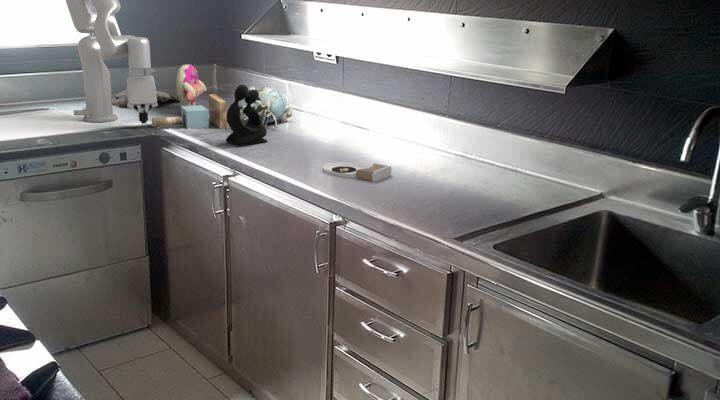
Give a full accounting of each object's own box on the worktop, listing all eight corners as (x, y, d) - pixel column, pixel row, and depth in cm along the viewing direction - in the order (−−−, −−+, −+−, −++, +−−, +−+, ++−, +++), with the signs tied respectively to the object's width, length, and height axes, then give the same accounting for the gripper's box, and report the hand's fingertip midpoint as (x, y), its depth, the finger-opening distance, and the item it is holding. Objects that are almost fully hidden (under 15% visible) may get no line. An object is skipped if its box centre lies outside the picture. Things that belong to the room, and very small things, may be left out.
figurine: (237, 147, 230) (236, 87, 224) (222, 143, 236) (221, 84, 230) (271, 142, 240) (271, 84, 234) (256, 137, 246) (255, 81, 240)
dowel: (153, 129, 257) (153, 121, 255) (151, 124, 259) (151, 116, 257) (180, 128, 261) (181, 119, 259) (179, 123, 263) (179, 114, 261)
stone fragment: (115, 100, 314) (114, 86, 312) (182, 99, 320) (181, 85, 318) (109, 109, 290) (107, 93, 288) (180, 107, 296) (180, 92, 294)
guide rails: (159, 129, 254) (159, 126, 254) (156, 125, 261) (156, 122, 260) (184, 127, 258) (184, 124, 258) (181, 124, 264) (180, 120, 264)
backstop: (220, 128, 258) (219, 101, 255) (209, 119, 274) (208, 94, 271) (226, 128, 259) (226, 101, 256) (215, 119, 275) (214, 94, 272)
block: (187, 128, 257) (186, 111, 255) (181, 123, 266) (180, 106, 264) (208, 127, 260) (208, 110, 258) (202, 121, 269) (201, 105, 267)
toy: (195, 119, 274) (193, 68, 268) (173, 118, 274) (170, 67, 268) (209, 108, 298) (208, 60, 292) (189, 107, 298) (186, 60, 292)
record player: (372, 173, 194) (314, 163, 204) (372, 184, 195) (314, 173, 205) (393, 164, 204) (337, 155, 214) (393, 175, 204) (337, 165, 215)
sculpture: (294, 109, 283) (303, 113, 254) (263, 140, 282) (268, 148, 253) (260, 73, 277) (265, 73, 248) (227, 106, 277) (229, 109, 248)
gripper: (160, 70, 256) (163, 120, 261) (117, 71, 250) (121, 122, 255) (163, 73, 249) (166, 123, 255) (119, 74, 243) (123, 126, 249)
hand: (143, 122), depth 255 cm, fingers closed
